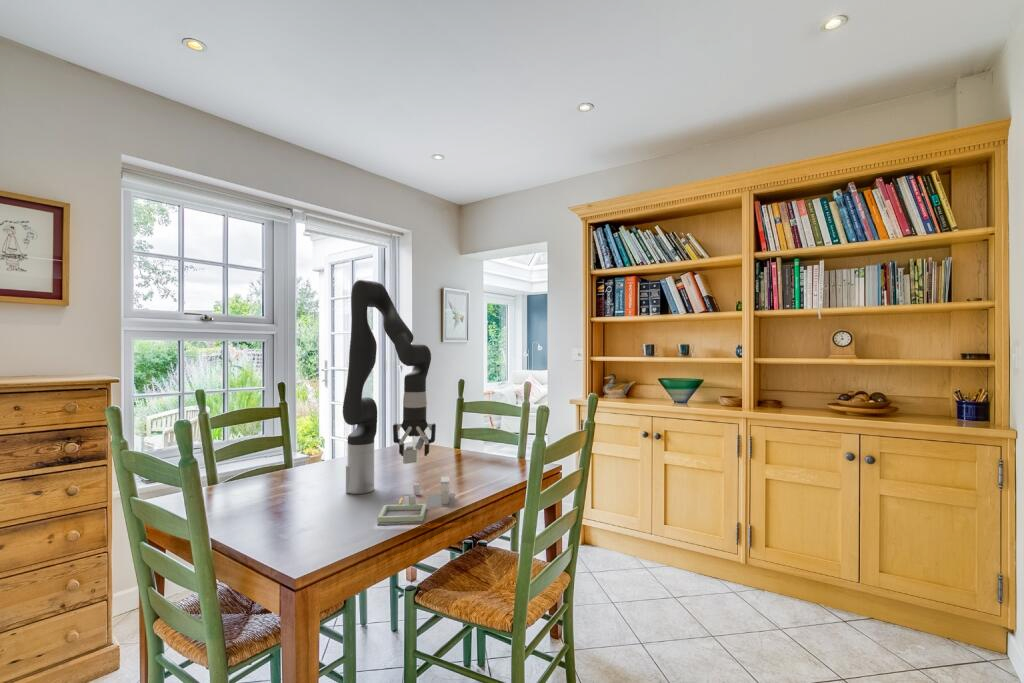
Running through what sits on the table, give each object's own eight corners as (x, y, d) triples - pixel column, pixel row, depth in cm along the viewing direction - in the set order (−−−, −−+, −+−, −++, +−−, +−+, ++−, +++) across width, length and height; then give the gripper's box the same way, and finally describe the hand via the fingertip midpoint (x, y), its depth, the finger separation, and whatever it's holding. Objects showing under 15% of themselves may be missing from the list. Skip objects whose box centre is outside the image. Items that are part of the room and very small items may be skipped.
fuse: (440, 503, 158) (440, 481, 158) (441, 497, 164) (441, 476, 164) (448, 502, 158) (449, 481, 158) (449, 497, 164) (449, 476, 164)
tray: (377, 526, 141) (377, 517, 141) (384, 513, 152) (384, 505, 152) (422, 524, 142) (422, 516, 142) (426, 511, 153) (426, 503, 153)
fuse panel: (395, 512, 153) (395, 496, 153) (402, 498, 167) (402, 484, 167) (453, 510, 154) (453, 495, 154) (455, 496, 168) (455, 482, 168)
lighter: (404, 463, 158) (405, 439, 158) (402, 462, 159) (403, 438, 159) (425, 461, 162) (425, 437, 162) (423, 460, 163) (423, 436, 163)
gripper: (390, 406, 156) (390, 458, 156) (436, 406, 157) (435, 458, 157) (394, 403, 164) (393, 453, 164) (437, 403, 165) (437, 452, 165)
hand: (414, 455), depth 161 cm, fingers closed on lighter, 7 cm apart
